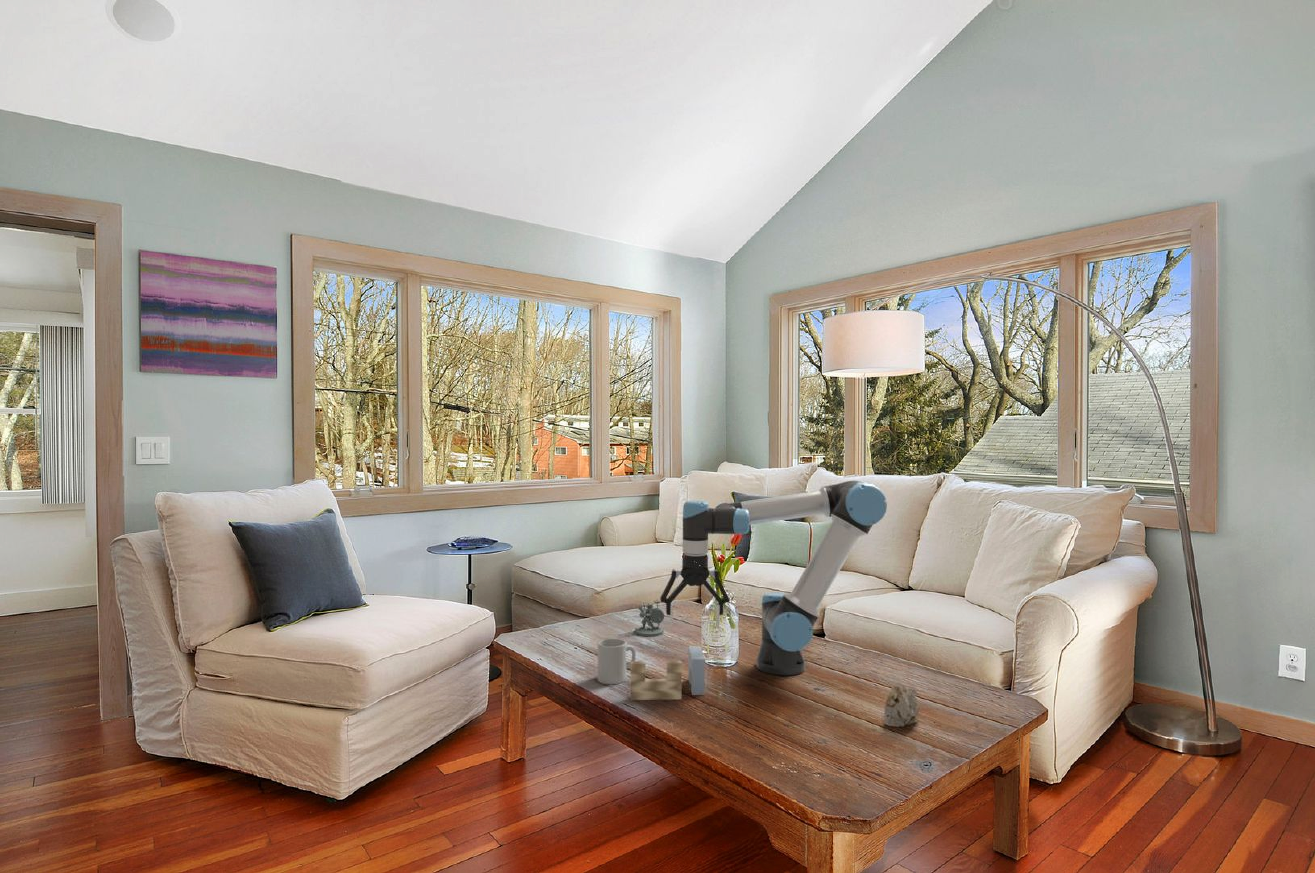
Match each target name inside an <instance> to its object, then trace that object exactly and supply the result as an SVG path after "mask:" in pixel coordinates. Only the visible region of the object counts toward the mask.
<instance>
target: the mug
mask: <svg viewBox="0 0 1315 873" xmlns="http://www.w3.org/2000/svg"><path fill="white" fill-rule="evenodd" d="M628 651H630V652H631V660H630V661H629V662H627V652H628ZM636 657H637V656H636V650H635V647H634V646H633V645H631V644H627V641H625V640H624V639H619V638H605V639H601V640H599V641H598V643H597V681H598V682H599V683H601V684H604V685H618V684H622V683H624V682H625V681H626V680H627V669H629V668H630V669H631V661H636Z"/></svg>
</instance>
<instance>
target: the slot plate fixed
mask: <svg viewBox="0 0 1315 873" xmlns="http://www.w3.org/2000/svg"><path fill="white" fill-rule="evenodd" d="M630 661H631V660H630ZM682 668H683V667H682V660H666V678H646V661H645V660H635V661H631V667H630V701H651V700H655V701H657V700H659V701H661V700H666V701H667V700H682V687H683V686H682V683H683V681H682V680H683V679H682V676H683V675H682V673H683V672H682V671H683V670H682Z"/></svg>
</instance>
